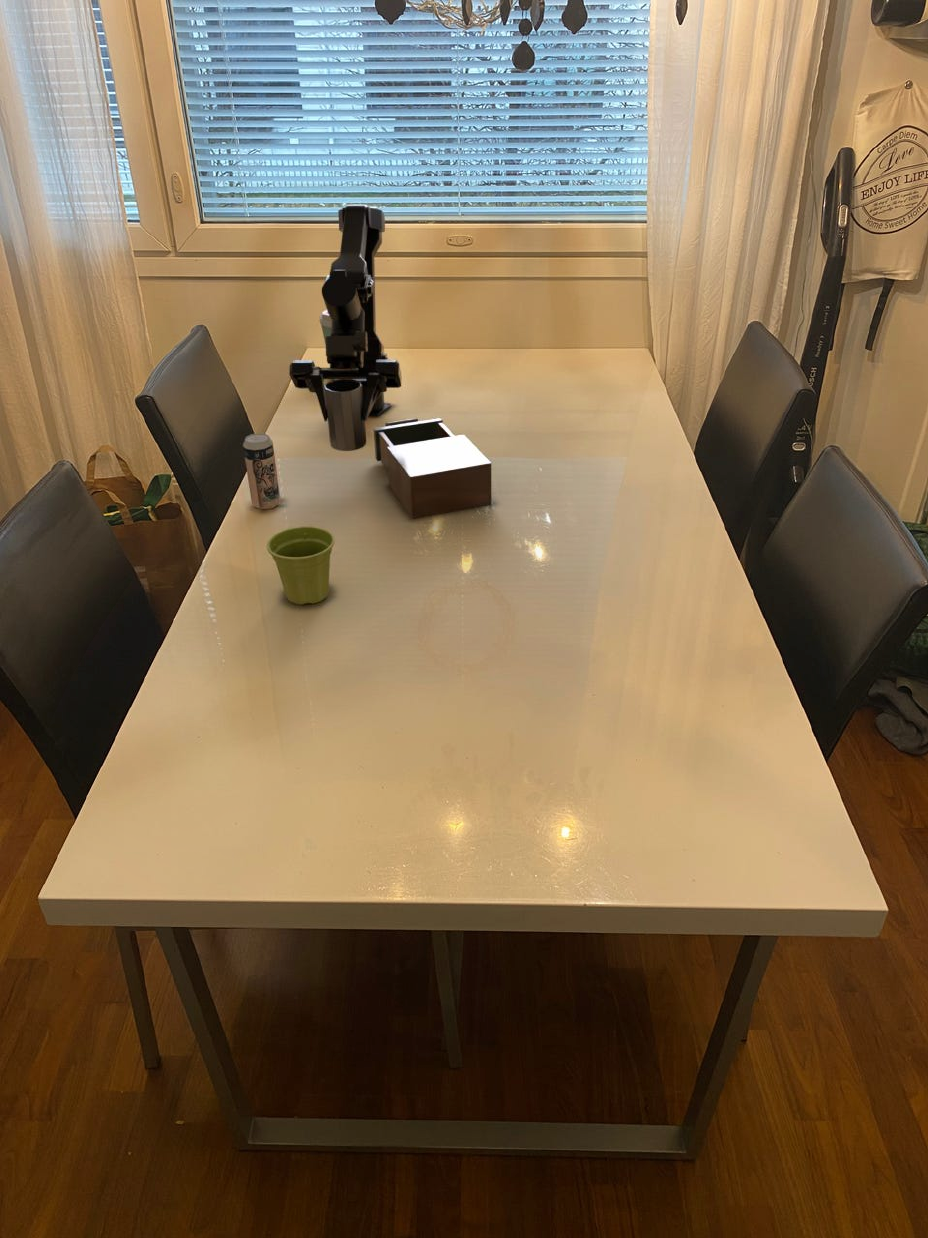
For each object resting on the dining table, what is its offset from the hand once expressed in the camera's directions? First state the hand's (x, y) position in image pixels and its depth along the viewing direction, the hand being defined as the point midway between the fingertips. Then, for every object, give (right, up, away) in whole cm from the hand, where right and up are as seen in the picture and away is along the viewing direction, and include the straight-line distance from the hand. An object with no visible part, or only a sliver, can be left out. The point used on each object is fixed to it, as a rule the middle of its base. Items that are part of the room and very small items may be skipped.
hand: (344, 420), depth 164 cm
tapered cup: (0, -3, +4) cm, 5 cm away
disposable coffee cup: (-5, +20, +51) cm, 55 cm away
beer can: (-13, -15, -1) cm, 20 cm away
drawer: (+12, -5, +10) cm, 16 cm away
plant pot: (-2, -31, -26) cm, 40 cm away
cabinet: (+16, -13, 0) cm, 21 cm away
